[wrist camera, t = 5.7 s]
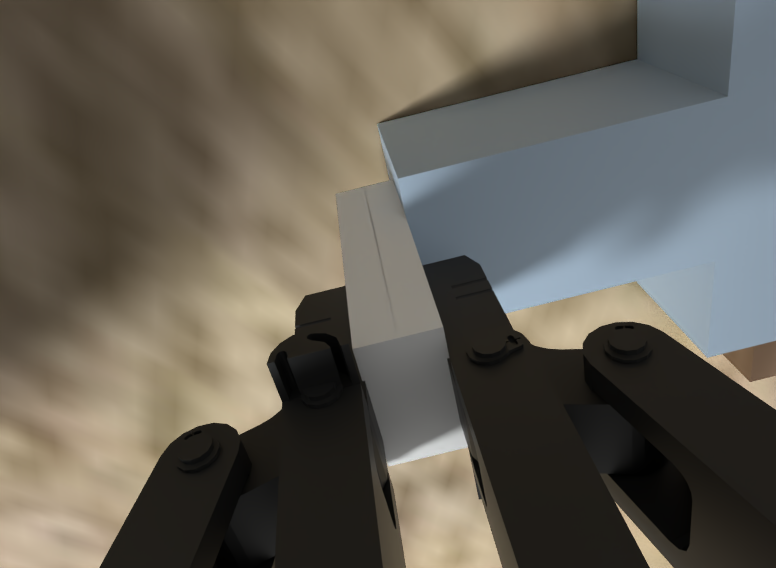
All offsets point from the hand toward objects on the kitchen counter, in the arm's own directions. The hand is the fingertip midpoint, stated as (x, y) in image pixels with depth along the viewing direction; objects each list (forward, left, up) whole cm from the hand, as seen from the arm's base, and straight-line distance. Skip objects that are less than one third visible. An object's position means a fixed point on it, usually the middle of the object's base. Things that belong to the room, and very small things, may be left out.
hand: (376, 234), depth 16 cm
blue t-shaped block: (+6, 0, -2) cm, 6 cm away
